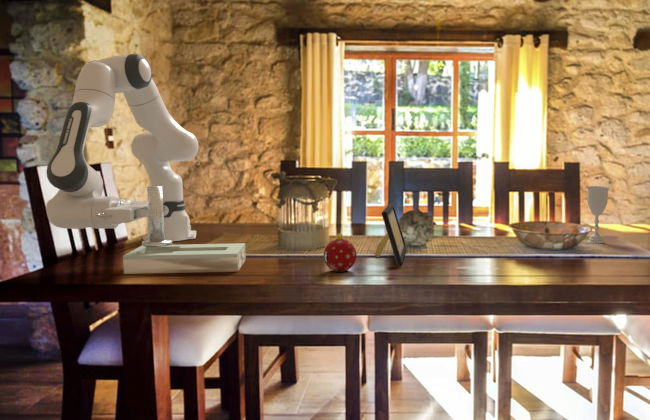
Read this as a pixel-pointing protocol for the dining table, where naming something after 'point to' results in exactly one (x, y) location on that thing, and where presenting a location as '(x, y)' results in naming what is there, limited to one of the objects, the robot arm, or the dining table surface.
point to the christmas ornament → (340, 254)
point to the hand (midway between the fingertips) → (159, 211)
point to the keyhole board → (185, 258)
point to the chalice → (597, 208)
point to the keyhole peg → (156, 219)
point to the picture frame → (392, 235)
